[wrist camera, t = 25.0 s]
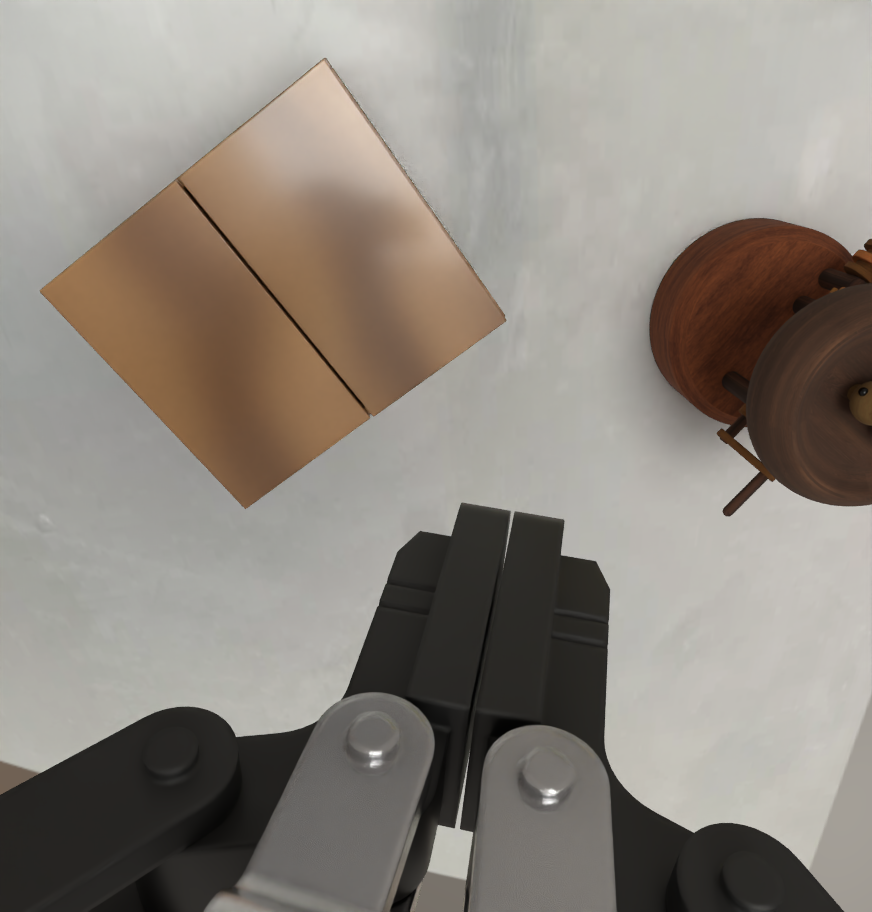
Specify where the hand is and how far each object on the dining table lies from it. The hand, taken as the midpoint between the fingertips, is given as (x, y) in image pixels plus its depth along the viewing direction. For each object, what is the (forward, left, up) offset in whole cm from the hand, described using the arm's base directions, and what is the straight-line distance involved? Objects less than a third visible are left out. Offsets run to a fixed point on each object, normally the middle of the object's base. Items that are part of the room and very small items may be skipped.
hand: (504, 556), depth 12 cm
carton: (-4, -3, -32) cm, 32 cm away
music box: (+19, +3, -32) cm, 37 cm away
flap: (-6, -6, -22) cm, 24 cm away
